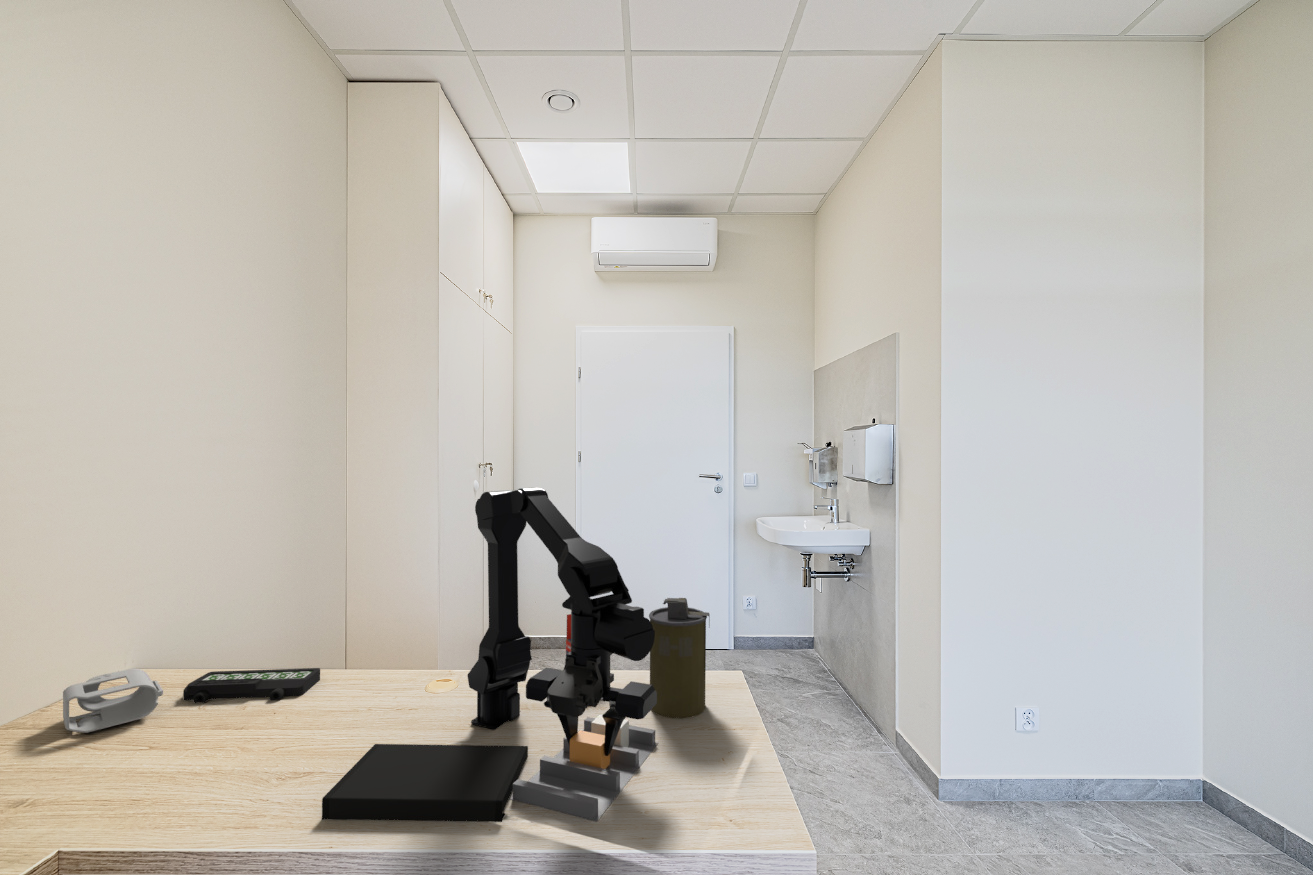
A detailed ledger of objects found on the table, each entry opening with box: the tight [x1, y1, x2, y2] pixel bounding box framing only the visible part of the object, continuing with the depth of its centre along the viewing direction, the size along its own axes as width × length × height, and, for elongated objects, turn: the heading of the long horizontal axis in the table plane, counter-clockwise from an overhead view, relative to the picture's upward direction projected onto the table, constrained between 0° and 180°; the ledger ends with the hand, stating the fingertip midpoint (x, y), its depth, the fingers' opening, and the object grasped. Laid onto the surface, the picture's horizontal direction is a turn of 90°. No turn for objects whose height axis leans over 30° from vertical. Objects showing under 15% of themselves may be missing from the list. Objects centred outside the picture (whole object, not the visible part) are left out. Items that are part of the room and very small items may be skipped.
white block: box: [591, 714, 630, 747], centre depth 94 cm, size 5×3×4 cm, turn 69°
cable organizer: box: [62, 668, 164, 734], centre depth 105 cm, size 7×12×12 cm
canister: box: [648, 597, 711, 720], centre depth 109 cm, size 11×10×20 cm
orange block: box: [570, 729, 610, 769], centre depth 88 cm, size 5×3×4 cm, turn 69°
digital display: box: [182, 667, 321, 704], centre depth 117 cm, size 21×3×10 cm
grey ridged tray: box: [509, 716, 659, 823], centre depth 88 cm, size 13×21×3 cm, turn 159°
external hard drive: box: [321, 743, 529, 823], centre depth 84 cm, size 14×23×3 cm, turn 89°
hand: (590, 750), depth 88 cm, fingers open, 5 cm apart
